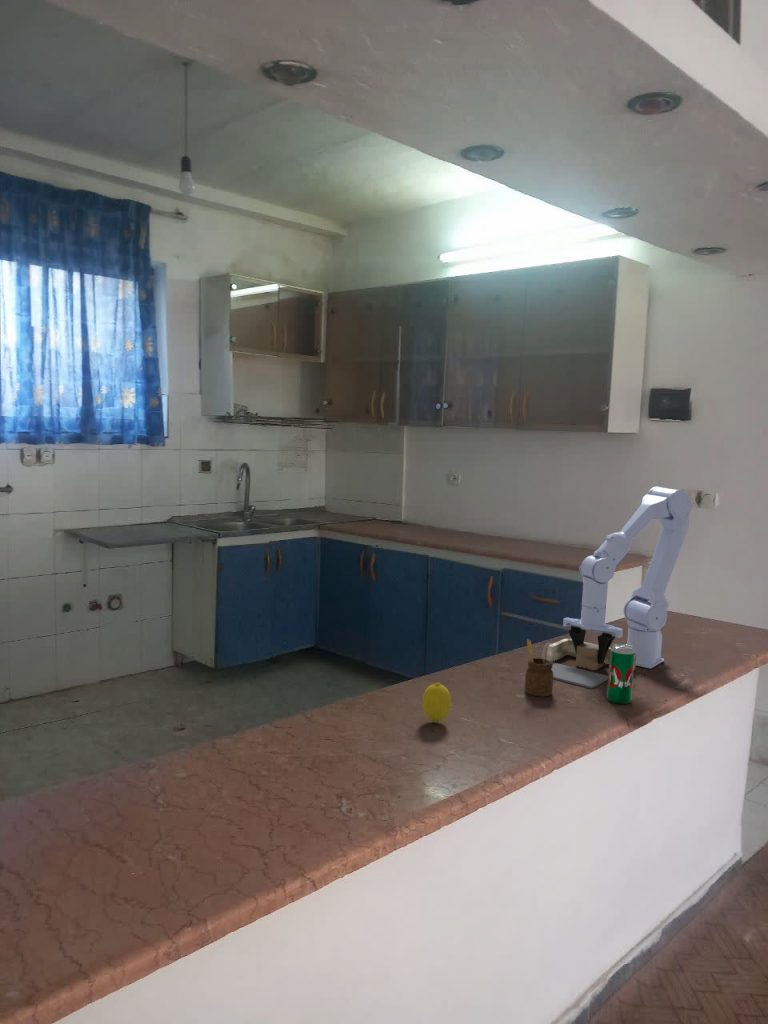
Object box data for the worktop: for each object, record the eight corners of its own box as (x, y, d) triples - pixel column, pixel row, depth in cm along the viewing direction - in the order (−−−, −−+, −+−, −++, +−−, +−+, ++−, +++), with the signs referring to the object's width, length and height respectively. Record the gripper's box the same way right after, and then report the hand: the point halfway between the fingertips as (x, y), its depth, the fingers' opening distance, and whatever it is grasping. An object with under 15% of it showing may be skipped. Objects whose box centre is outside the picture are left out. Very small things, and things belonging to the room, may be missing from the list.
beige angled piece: (565, 653, 200) (566, 637, 199) (635, 669, 188) (636, 653, 188) (546, 661, 192) (547, 645, 192) (618, 679, 181) (619, 662, 180)
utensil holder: (557, 696, 168) (561, 641, 166) (532, 698, 165) (535, 643, 164) (543, 686, 173) (546, 634, 172) (518, 689, 171) (521, 636, 170)
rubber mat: (551, 663, 190) (551, 661, 190) (609, 678, 181) (610, 676, 181) (531, 673, 182) (531, 671, 182) (591, 688, 173) (591, 686, 173)
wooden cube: (584, 661, 193) (585, 642, 193) (603, 666, 190) (605, 646, 190) (575, 666, 189) (577, 646, 189) (594, 670, 186) (596, 650, 186)
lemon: (453, 720, 151) (456, 681, 150) (443, 730, 146) (446, 689, 145) (427, 715, 153) (429, 676, 152) (416, 724, 148) (418, 684, 147)
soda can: (628, 697, 168) (632, 643, 167) (633, 706, 163) (637, 650, 162) (604, 695, 169) (608, 642, 167) (608, 704, 164) (613, 648, 162)
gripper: (558, 603, 189) (555, 657, 191) (616, 614, 180) (611, 670, 182) (571, 598, 195) (568, 651, 196) (627, 609, 186) (623, 664, 187)
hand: (589, 660), depth 190 cm, fingers closed on wooden cube, 5 cm apart
